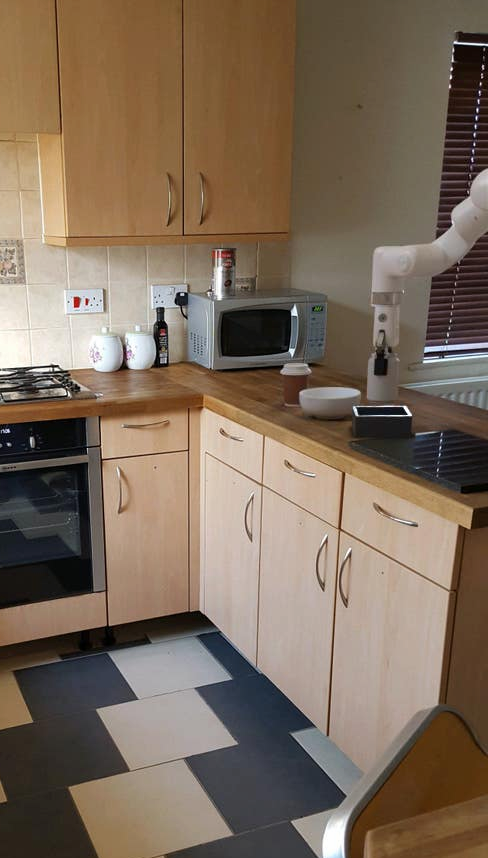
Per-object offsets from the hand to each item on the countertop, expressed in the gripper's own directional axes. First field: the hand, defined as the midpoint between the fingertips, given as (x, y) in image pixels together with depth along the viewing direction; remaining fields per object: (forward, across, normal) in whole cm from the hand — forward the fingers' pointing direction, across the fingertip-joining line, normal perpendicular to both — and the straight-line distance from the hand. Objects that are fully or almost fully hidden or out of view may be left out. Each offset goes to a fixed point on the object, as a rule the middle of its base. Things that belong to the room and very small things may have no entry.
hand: (383, 372), depth 218 cm
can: (+7, 0, 0) cm, 7 cm away
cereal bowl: (+15, +17, +17) cm, 29 cm away
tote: (+15, 0, 0) cm, 15 cm away
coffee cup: (+15, +33, +31) cm, 48 cm away
